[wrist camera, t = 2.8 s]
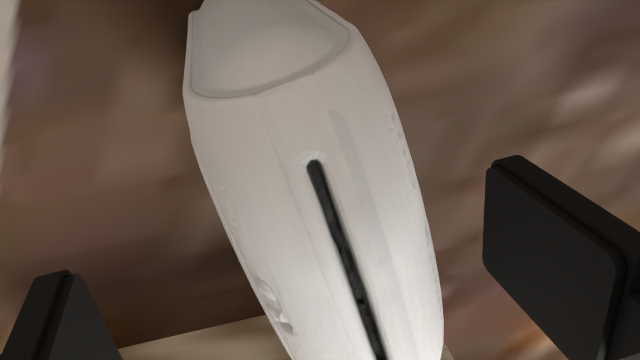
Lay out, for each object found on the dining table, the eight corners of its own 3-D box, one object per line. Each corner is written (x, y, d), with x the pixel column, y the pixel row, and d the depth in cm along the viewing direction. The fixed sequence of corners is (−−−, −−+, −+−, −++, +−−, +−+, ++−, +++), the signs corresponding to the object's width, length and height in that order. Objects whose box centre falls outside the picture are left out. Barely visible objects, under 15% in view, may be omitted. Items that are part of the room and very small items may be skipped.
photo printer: (354, 188, 22) (498, 424, 12) (269, 221, 22) (335, 492, 11) (285, -41, 17) (429, 5, 6) (173, -1, 17) (127, 114, 6)
